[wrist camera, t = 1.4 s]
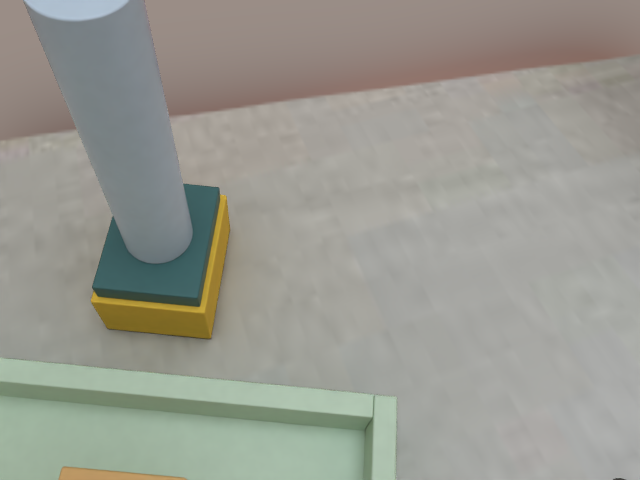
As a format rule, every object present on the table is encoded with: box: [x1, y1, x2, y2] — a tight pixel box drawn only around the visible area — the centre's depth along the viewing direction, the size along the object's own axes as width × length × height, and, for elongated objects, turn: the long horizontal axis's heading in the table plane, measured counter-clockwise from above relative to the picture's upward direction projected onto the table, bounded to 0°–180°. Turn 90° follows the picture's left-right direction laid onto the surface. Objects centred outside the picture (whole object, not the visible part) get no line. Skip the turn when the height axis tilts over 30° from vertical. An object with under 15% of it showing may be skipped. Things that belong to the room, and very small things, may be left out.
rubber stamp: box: [23, 0, 230, 339], centre depth 19 cm, size 5×4×14 cm
